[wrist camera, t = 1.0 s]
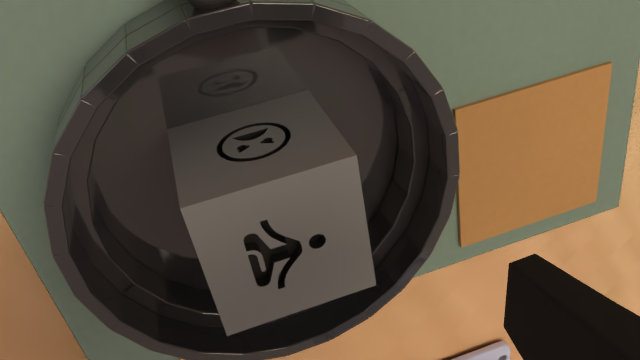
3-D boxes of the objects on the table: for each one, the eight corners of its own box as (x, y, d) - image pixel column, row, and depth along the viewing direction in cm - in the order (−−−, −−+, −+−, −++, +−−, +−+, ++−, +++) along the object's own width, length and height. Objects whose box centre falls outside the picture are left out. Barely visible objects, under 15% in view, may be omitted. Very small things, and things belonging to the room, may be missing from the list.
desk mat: (615, 204, 28) (621, 208, 28) (103, 381, 25) (103, 389, 24) (673, -209, 19) (683, -209, 19) (-136, -27, 15) (-141, -24, 15)
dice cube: (166, 129, 20) (180, 208, 15) (308, 89, 20) (356, 154, 16) (206, 242, 22) (227, 336, 18) (329, 204, 23) (376, 284, 19)
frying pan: (430, 246, 26) (465, 292, 24) (135, 347, 24) (137, 409, 22) (405, -67, 19) (451, -50, 16) (-23, 39, 17) (-48, 78, 14)
